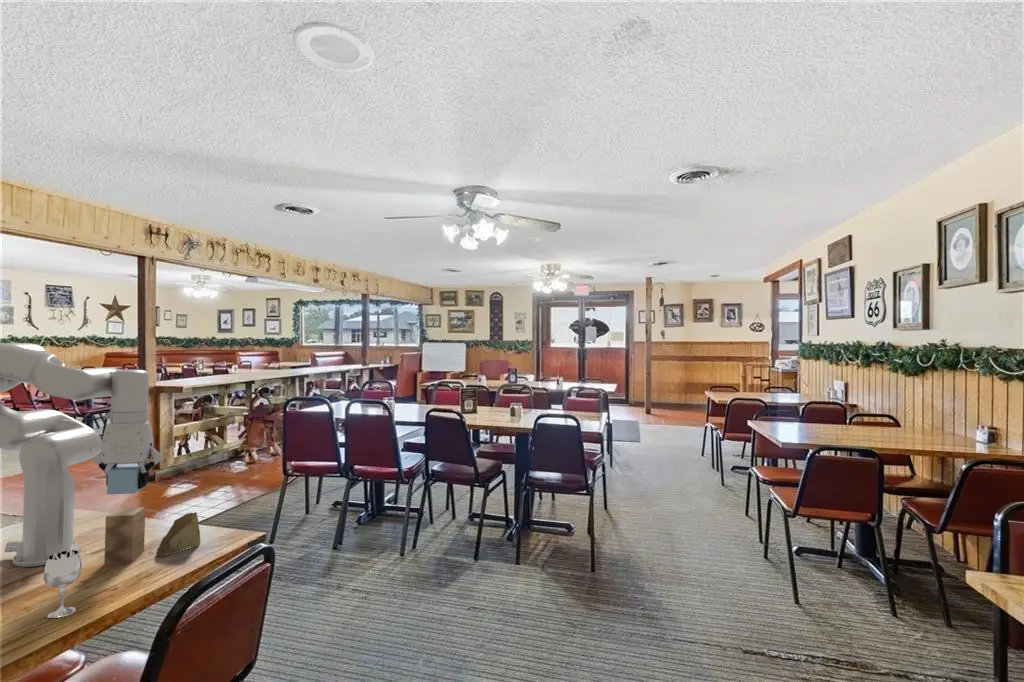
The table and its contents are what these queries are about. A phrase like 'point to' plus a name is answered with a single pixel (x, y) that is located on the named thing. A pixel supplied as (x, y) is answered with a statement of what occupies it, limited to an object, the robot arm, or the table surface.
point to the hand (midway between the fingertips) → (127, 487)
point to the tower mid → (125, 523)
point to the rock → (181, 535)
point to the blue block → (123, 479)
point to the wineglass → (62, 576)
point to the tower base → (124, 549)
